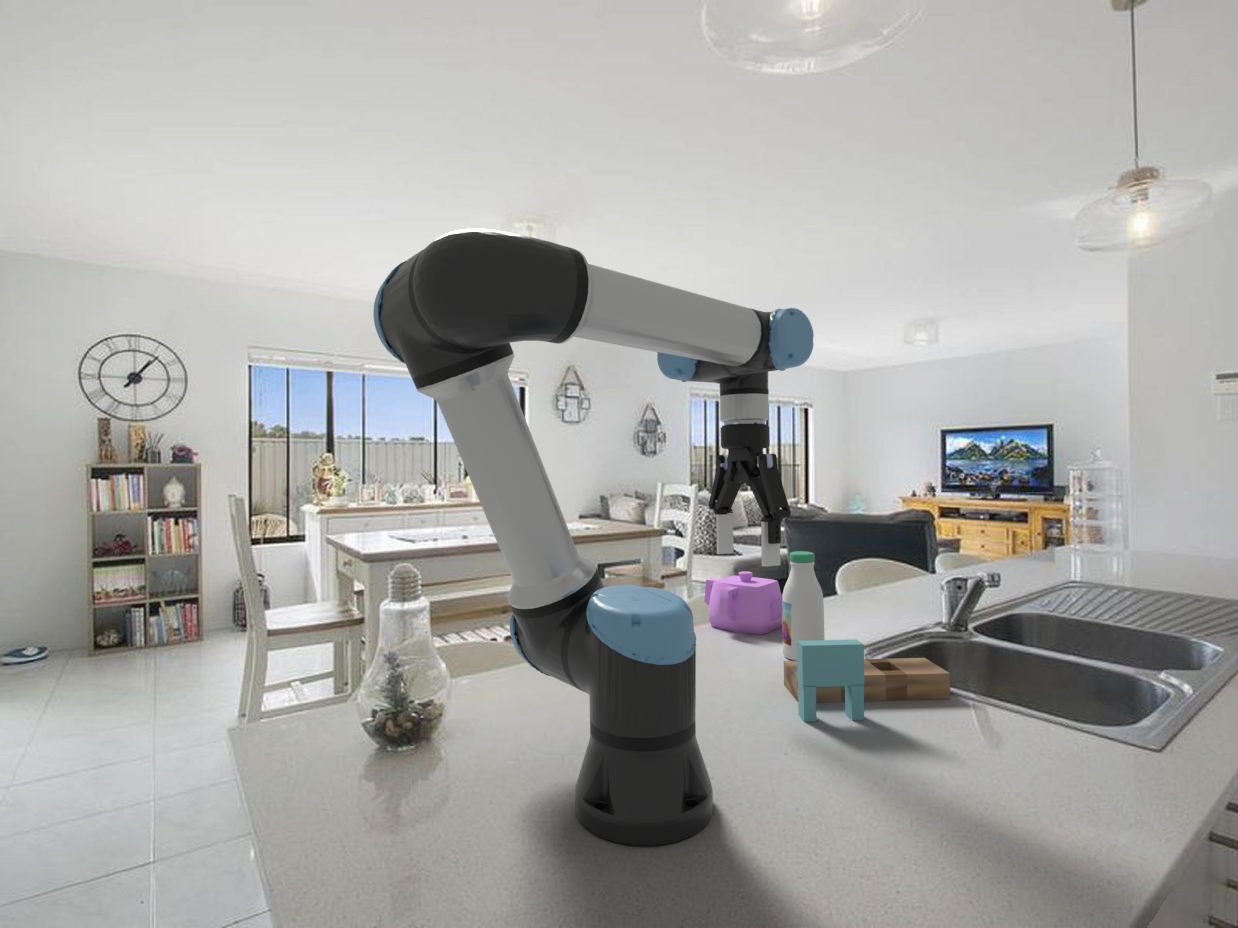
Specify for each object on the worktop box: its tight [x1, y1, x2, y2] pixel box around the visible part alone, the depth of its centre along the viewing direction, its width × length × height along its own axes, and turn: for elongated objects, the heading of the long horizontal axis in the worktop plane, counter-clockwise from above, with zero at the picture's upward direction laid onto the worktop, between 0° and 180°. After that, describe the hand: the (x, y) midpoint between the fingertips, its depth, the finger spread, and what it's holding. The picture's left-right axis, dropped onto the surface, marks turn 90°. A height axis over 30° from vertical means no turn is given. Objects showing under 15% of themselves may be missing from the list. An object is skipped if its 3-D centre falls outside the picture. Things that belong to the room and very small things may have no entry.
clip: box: [797, 638, 865, 723], centre depth 95 cm, size 3×9×11 cm, turn 92°
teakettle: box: [703, 570, 783, 636], centre depth 148 cm, size 17×17×12 cm
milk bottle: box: [781, 550, 825, 661], centre depth 125 cm, size 8×8×20 cm
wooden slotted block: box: [783, 657, 951, 703], centre depth 106 cm, size 8×24×4 cm, turn 91°
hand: (746, 559), depth 102 cm, fingers open, 13 cm apart
